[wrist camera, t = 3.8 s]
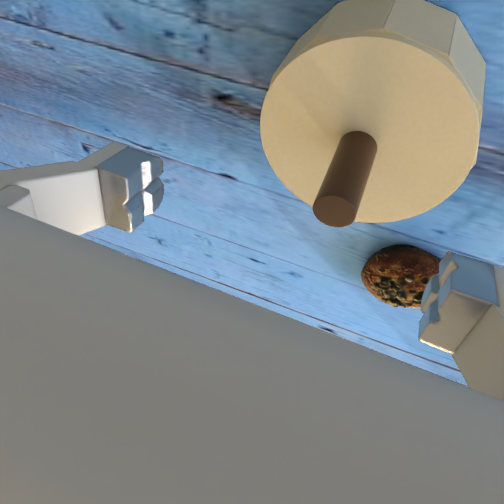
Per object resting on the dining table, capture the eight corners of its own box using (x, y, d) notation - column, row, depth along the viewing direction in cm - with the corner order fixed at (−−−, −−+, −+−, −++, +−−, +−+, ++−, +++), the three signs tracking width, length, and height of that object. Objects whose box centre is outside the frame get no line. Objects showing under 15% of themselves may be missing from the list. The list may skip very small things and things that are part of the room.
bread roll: (424, 233, 44) (420, 271, 42) (473, 281, 49) (472, 317, 47) (346, 255, 53) (339, 287, 50) (394, 294, 57) (390, 325, 55)
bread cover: (410, -65, 26) (363, 28, 18) (521, 123, 32) (525, 258, 24) (253, 80, 38) (182, 175, 30) (354, 196, 44) (318, 301, 36)
